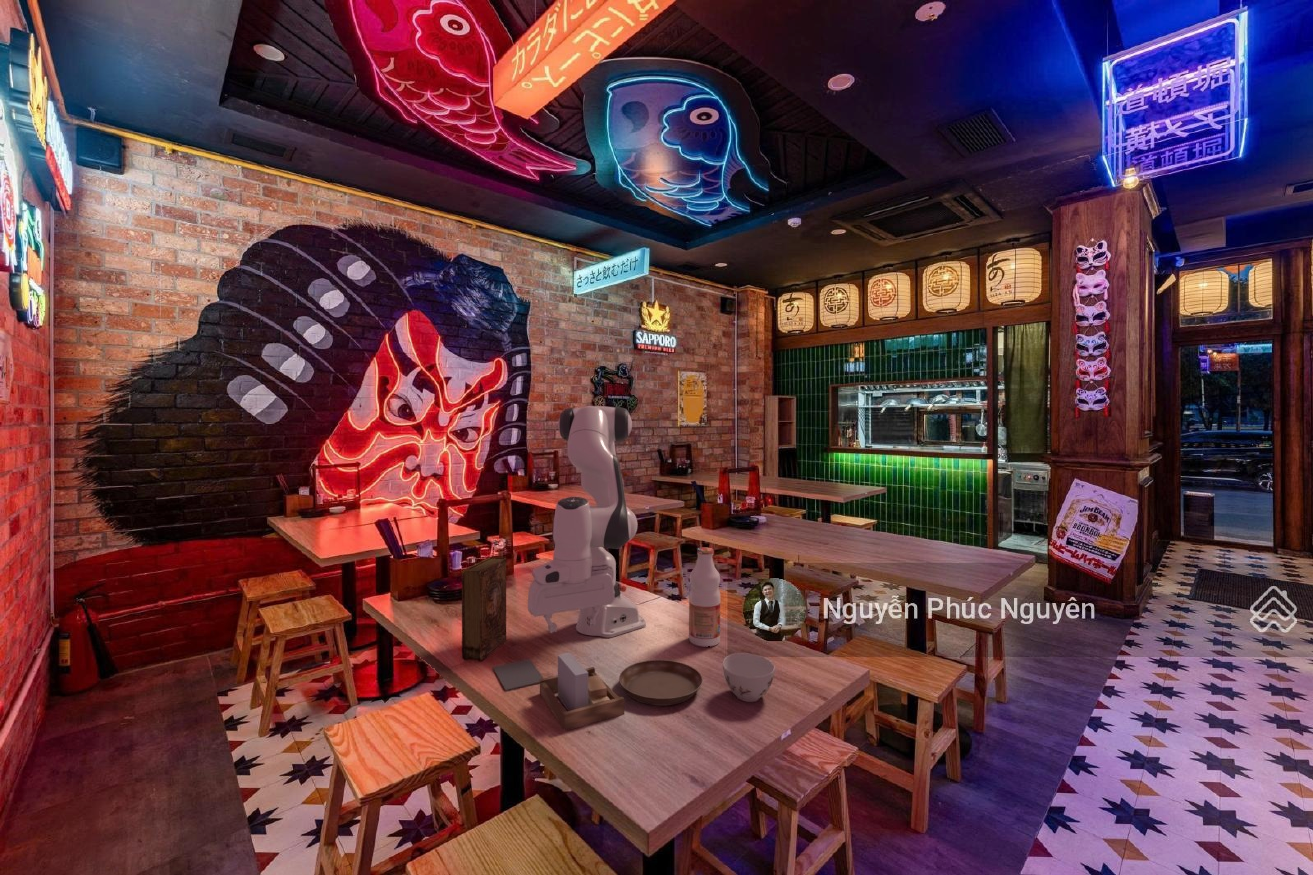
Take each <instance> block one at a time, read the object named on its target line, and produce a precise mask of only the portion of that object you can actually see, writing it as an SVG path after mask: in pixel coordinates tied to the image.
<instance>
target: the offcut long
mask: <svg viewBox="0 0 1313 875" xmlns="http://www.w3.org/2000/svg"><path fill="white" fill-rule="evenodd" d="M608 700H610V699H609V698H608V697H602V698H597V699H591V700H590V699H589V697H588V706H590V705H593V704H597V703H601V702H604V701H608Z"/></svg>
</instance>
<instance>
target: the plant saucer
mask: <svg viewBox="0 0 1313 875" xmlns="http://www.w3.org/2000/svg"><path fill="white" fill-rule="evenodd" d="M618 680H619V684H620V686H621V687H622V689H623V690H624V691H625V692H626V693H627V694H628V695H629V697H631V698H633V699H634V700H635V701H638V702H640V703H643V704H645V705H649V706H658V707H659V706H660V707H662V706H673V705H677V704H678V705H679V704H681V703H683V702H684V703H685V702H686V701H688V700H689V699H690V698H692V697H693V696H694V695H695V694H696V693H697V692H698V691H699V690H700V689H701V686H702V685H703V680H704V679H703V676H702V674H701V673H700V672H699V671H698V670H697V668H694V667H693V666H691V665H689V664H687V663H683V662H679V661H676V660H675V661H674V660H669V659H650V660H644V661H639V662H635V663H633V664H631V665H629V666H627V667H625V668H624V669H623V670H622V671H621V673H620V674H619V677H618Z"/></svg>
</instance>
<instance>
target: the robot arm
mask: <svg viewBox="0 0 1313 875" xmlns="http://www.w3.org/2000/svg"><path fill="white" fill-rule="evenodd" d="M557 425H558V427H557V428H558V432H559V434H560V437H561V438H562V439H563V440H564V441H566V442H567V457H568V460H569V462H570V464H572V466H573V467H574V468H576V469H577V470H578V471H579V472H580V479H581V480H580V483H581V484H580V485H581V488H582V490H583V491H584V493H586V494H588V495H589V496H591V497H592V498H593V500H594V502H595V504H596V505H590V502H589V500H588V499H586V498H583V497H581V496H570V497H569V496H568V497H565V498H562V499H560V500H558V501H557V502H556V505H555V510H554V517H553V520H552V526H551V529H552V531H551V532H552V534H551V537H552V539H553V543H554V550H553V554H552V558H553V559H552V560H550V561H549V562H546V563H543V564H542V565H540V566H537V567H535V568H533V570H532V573H531V574H532V578H533V580H532V581H531V583H530V585H529V587H528V594H527V611H528V612H529V614H531V615H532V616H533V617H542V616H543V618H544V620H545V621H546V623H547V626H548V627H547V629H548V632H549V633H550V634H553V633H557V631H558V630H557V629H558V625H557V623H556V622H552V620H551V619H553V615H554V614H558V613H564V612H571V611H579V612H578V617H577V621H576V626H575V630H576V632H578V633H580V634H582V635H587V636H594V637H595V636H596V637H601V638H608V639H609V638H614V637H616V636H619V635H623V634H625V633H628V632H629V633H630V632H632V631H635V630H636V631H637V630H639V629H642V628H646V624H647V623H646V620H645V619H644V618H643V616H641V615H639V609H638V607H637V605H636V603H635V602H633V601H632V599H630V598H628V597H627V596H625V595H624V594H623V593H625V592H626V591H627V590H628V589H627V586H626V585H625V584H622V583H619V582H618V581H616V580H617V579H616V577H617V576H616V574H617V570H616V568H617V566H616V565H617V562H616V559H615V557H614V556H613V555H612V554H611V553H610V552H609V551H607V550H606V549H613V550H614V549H615V550H619V549H620V548H622V547H624V546H625V545H626V544H627V543H628V542H630V541H631V540H632V539H633V538H634V537H635V535H636V533H637V531H638V525H639V524H638V519H637V516H636V515H635V513H634V512H633V510H631V509H630V508H629V507H628V506H627V501H626V494H625V486H624V480H623V473H622V469H621V468H622V467H621V463H620V460H619V458H618V456H617V455H616V446H615V443H616V445H617V446H619V445H620V443H623V442H624V441H626V440H627V439H628V438H629V437H630V434H631V432H632V430H633V429H632V428H633V422H632V417H631V415H630V412H629V410H628V409H627V408H624V407H619V406H616V407H614V406H604V405H602V406H601V405H587V406H582V407H573V406H572V407H567V408H565V409H564V410H563V411H561V413H560V415H559V418H558V424H557ZM605 548H606V549H605Z"/></svg>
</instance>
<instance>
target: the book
mask: <svg viewBox="0 0 1313 875" xmlns="http://www.w3.org/2000/svg"><path fill="white" fill-rule="evenodd" d="M506 642H507V558H506V557H503V556H490V557H487V558H486V559H484V560H481V561H479V562H477V563H475V564H473V565H471V566H468V567H467V568H465V569H463V570H462V572H461V656H462V659H463V660H469V659H470V660H471V659H473V660H476V661H477V660H478V661H479V662H482V661H484V660H486V659H487V658H488V657H489V656H490V655H491V654H493V653H494V652H495V651H497V649H498V648H500V647H501V646H502V645H504V644H505V643H506Z"/></svg>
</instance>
